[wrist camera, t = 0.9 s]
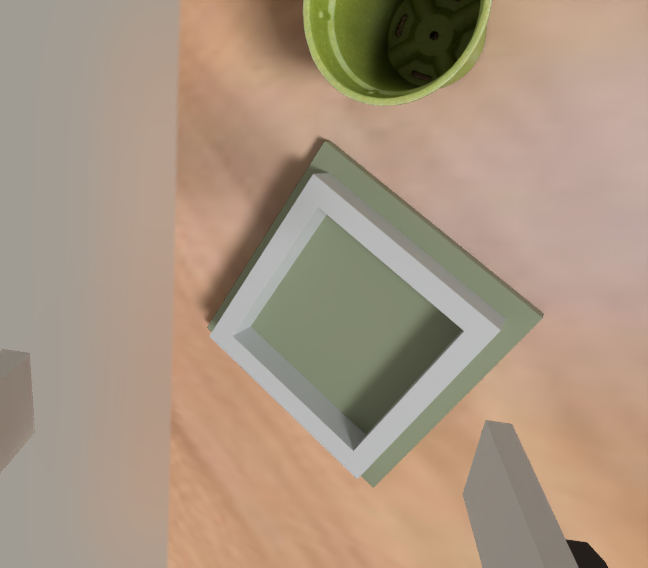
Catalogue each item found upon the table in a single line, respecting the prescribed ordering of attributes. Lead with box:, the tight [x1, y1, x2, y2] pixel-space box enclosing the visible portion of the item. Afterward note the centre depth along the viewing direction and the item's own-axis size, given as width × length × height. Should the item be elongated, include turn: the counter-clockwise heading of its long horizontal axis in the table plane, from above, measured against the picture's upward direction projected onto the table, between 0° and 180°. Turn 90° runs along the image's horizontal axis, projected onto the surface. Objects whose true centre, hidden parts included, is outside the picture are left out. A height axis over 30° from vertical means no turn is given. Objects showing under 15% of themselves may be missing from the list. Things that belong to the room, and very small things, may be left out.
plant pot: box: [303, 0, 492, 106], centre depth 29 cm, size 9×9×9 cm
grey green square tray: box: [207, 141, 544, 488], centre depth 38 cm, size 18×18×4 cm
